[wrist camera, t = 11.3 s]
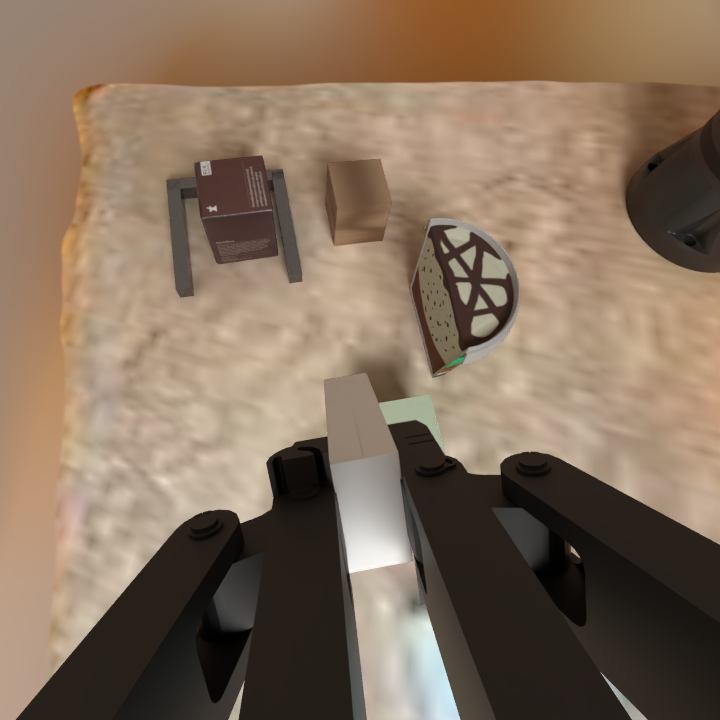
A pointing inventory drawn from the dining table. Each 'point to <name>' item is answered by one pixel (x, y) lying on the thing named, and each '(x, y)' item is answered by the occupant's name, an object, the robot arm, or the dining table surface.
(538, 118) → the dining table surface
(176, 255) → the corral
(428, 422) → the sage green block
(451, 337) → the food container
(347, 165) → the walnut block
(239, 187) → the box
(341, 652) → the robot arm
